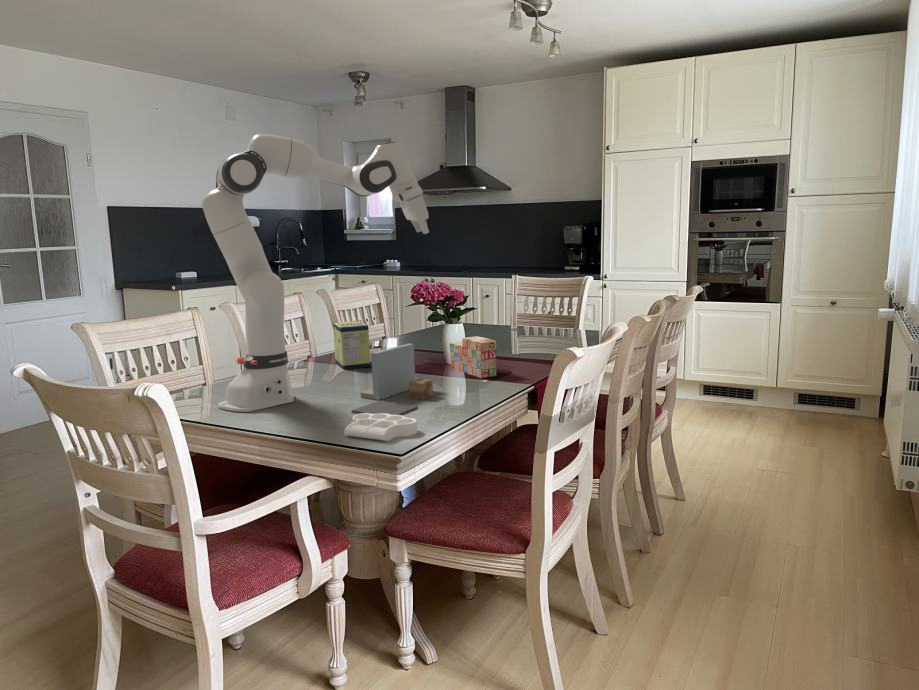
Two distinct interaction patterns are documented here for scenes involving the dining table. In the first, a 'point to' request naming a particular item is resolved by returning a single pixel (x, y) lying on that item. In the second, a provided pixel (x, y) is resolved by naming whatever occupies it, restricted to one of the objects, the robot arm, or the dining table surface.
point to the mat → (385, 408)
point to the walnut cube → (421, 388)
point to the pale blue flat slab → (391, 371)
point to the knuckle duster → (381, 426)
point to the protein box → (351, 344)
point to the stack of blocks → (474, 356)
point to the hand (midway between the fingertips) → (423, 232)
